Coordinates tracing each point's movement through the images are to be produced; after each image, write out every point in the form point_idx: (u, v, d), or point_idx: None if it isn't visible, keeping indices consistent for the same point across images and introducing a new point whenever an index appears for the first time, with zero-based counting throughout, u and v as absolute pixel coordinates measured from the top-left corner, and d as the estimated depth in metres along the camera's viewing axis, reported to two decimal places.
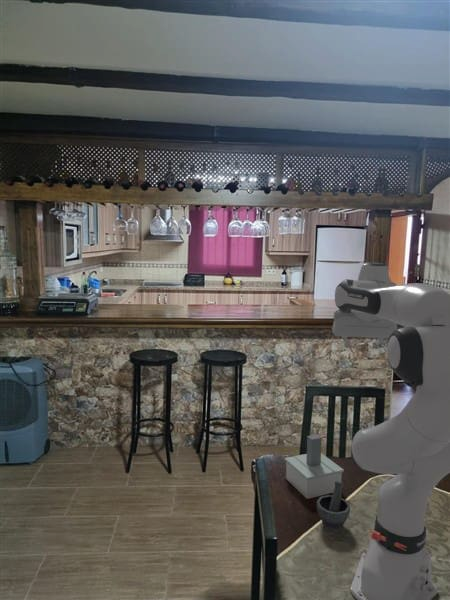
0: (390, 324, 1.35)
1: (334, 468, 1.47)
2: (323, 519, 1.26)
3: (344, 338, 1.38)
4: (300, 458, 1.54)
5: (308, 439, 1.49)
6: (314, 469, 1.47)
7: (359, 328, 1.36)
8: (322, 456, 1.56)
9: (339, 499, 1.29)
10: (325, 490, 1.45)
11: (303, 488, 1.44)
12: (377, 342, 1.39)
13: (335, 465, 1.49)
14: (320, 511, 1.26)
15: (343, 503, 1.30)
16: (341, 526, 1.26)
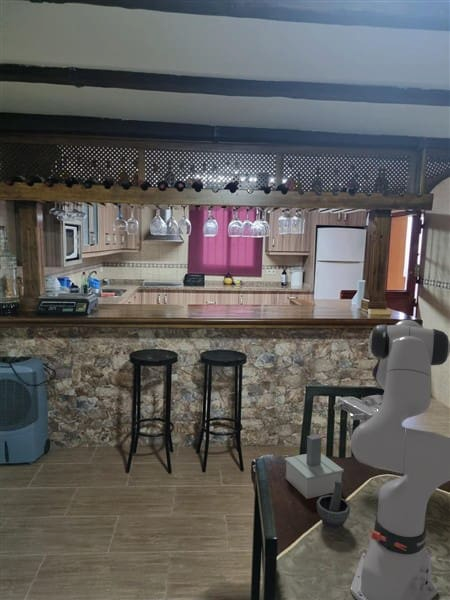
0: None
1: (334, 468, 1.47)
2: (323, 519, 1.26)
3: (340, 402, 1.60)
4: (300, 458, 1.54)
5: (308, 439, 1.49)
6: (314, 469, 1.47)
7: (357, 403, 1.58)
8: (322, 456, 1.56)
9: (339, 499, 1.29)
10: (325, 490, 1.45)
11: (303, 488, 1.44)
12: None
13: (335, 465, 1.49)
14: (320, 511, 1.26)
15: (343, 503, 1.30)
16: (341, 526, 1.26)
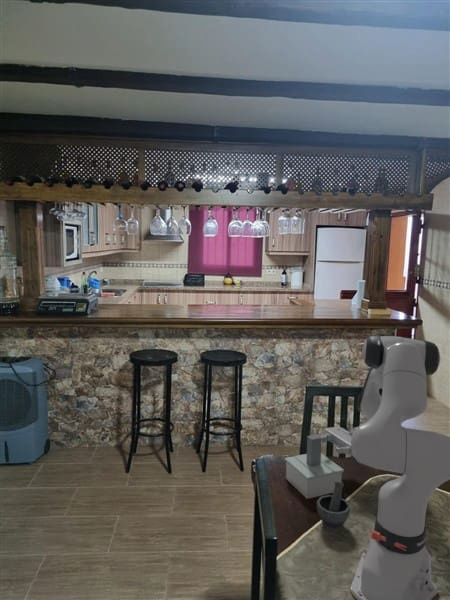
0: None
1: (334, 468, 1.47)
2: (323, 519, 1.26)
3: (327, 434, 1.59)
4: (300, 458, 1.54)
5: (308, 439, 1.49)
6: (314, 469, 1.47)
7: (343, 435, 1.57)
8: (322, 456, 1.56)
9: (339, 499, 1.29)
10: (325, 490, 1.45)
11: (303, 488, 1.44)
12: None
13: (335, 465, 1.49)
14: (320, 511, 1.26)
15: (343, 503, 1.30)
16: (341, 526, 1.26)
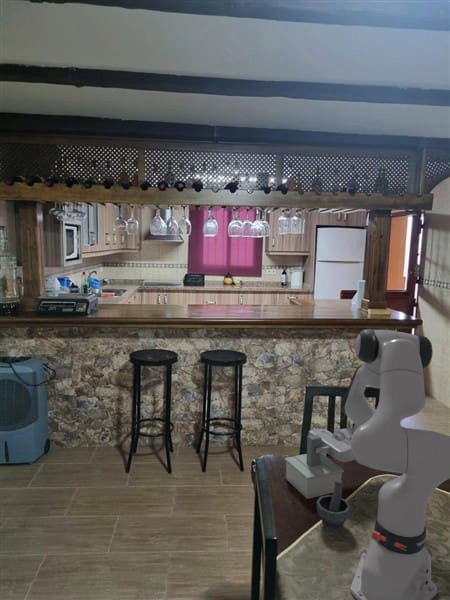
0: (348, 446, 1.46)
1: (334, 468, 1.47)
2: (323, 519, 1.26)
3: None
4: (300, 458, 1.54)
5: (308, 439, 1.49)
6: (314, 469, 1.46)
7: (327, 437, 1.54)
8: (322, 456, 1.56)
9: (339, 499, 1.29)
10: (325, 490, 1.45)
11: (303, 488, 1.44)
12: None
13: (335, 465, 1.49)
14: (320, 511, 1.26)
15: (343, 503, 1.30)
16: (341, 526, 1.26)
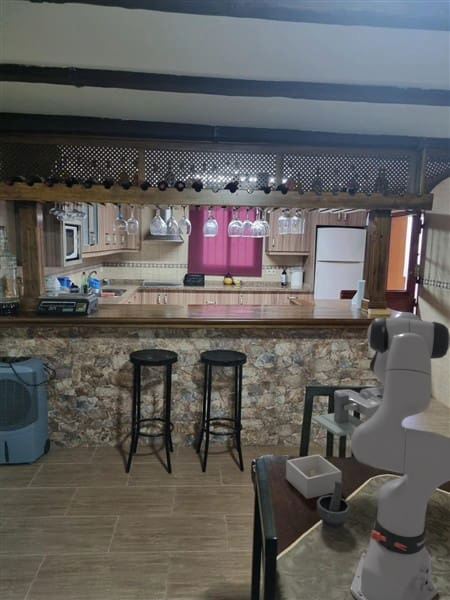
0: (376, 403, 1.48)
1: None
2: (323, 519, 1.26)
3: None
4: (327, 417, 1.56)
5: (336, 397, 1.51)
6: (342, 426, 1.48)
7: (354, 395, 1.56)
8: (348, 415, 1.58)
9: (339, 499, 1.29)
10: (325, 490, 1.45)
11: (303, 488, 1.44)
12: None
13: (362, 422, 1.51)
14: (320, 511, 1.26)
15: (343, 503, 1.30)
16: (341, 526, 1.26)
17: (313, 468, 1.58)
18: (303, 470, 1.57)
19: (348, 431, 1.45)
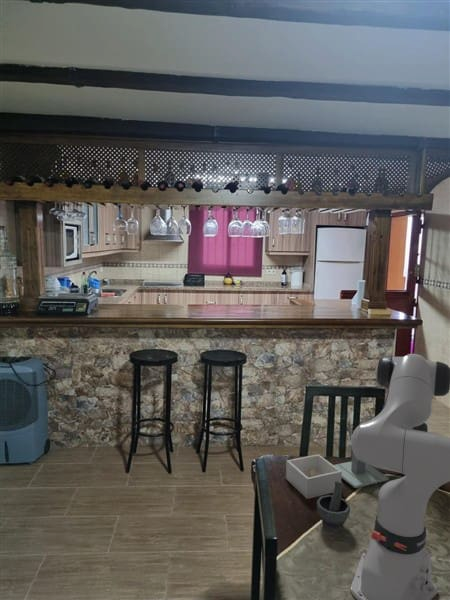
0: None
1: (379, 476, 1.53)
2: (323, 519, 1.26)
3: None
4: (344, 466, 1.60)
5: None
6: (360, 477, 1.53)
7: None
8: None
9: (339, 499, 1.29)
10: (325, 490, 1.45)
11: (303, 488, 1.44)
12: None
13: (379, 473, 1.56)
14: (320, 511, 1.26)
15: (343, 503, 1.30)
16: (341, 526, 1.26)
17: (313, 468, 1.58)
18: (303, 470, 1.57)
19: (366, 483, 1.49)
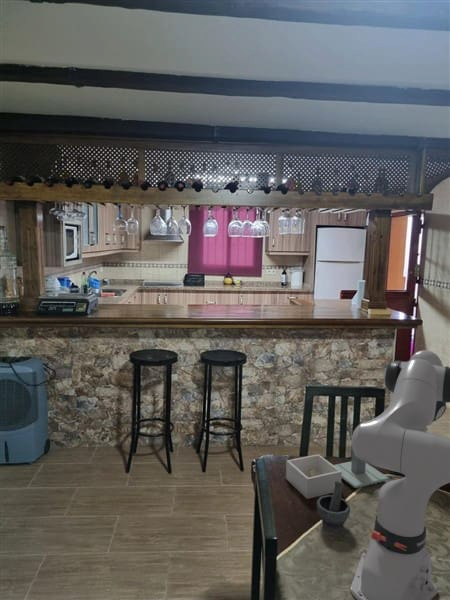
0: None
1: (379, 476, 1.53)
2: (323, 519, 1.26)
3: None
4: (344, 466, 1.60)
5: None
6: (360, 477, 1.53)
7: None
8: None
9: (339, 499, 1.29)
10: (325, 490, 1.45)
11: (303, 488, 1.44)
12: None
13: (379, 473, 1.56)
14: (320, 511, 1.26)
15: (343, 503, 1.30)
16: (341, 526, 1.26)
17: (313, 468, 1.58)
18: (303, 470, 1.57)
19: (366, 483, 1.49)
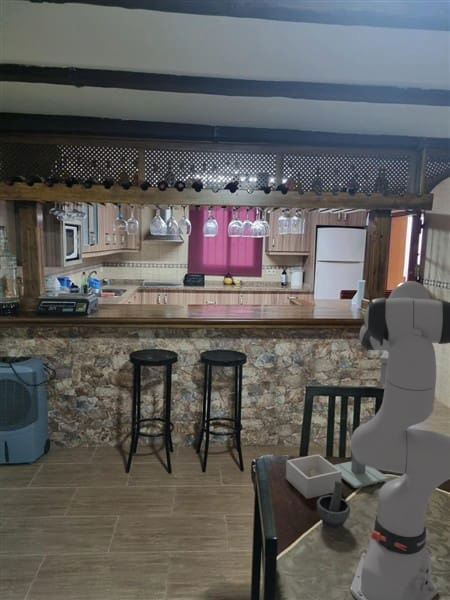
0: None
1: (379, 476, 1.53)
2: (323, 519, 1.26)
3: None
4: (344, 466, 1.60)
5: None
6: (360, 477, 1.53)
7: None
8: None
9: (339, 499, 1.29)
10: (325, 490, 1.45)
11: (303, 488, 1.44)
12: None
13: (379, 473, 1.56)
14: (320, 511, 1.26)
15: (343, 503, 1.30)
16: (341, 526, 1.26)
17: (313, 468, 1.58)
18: (303, 470, 1.57)
19: (366, 483, 1.49)
